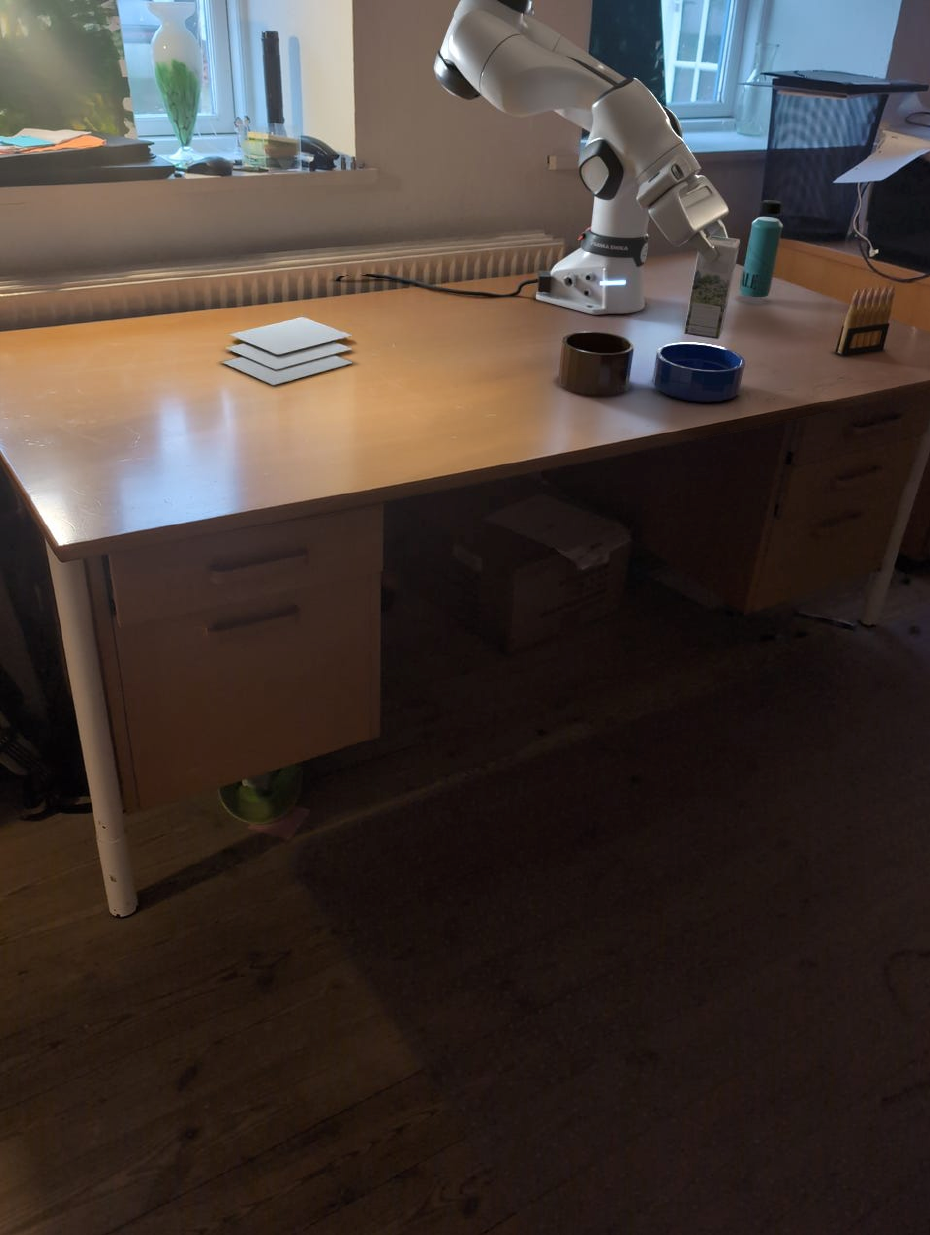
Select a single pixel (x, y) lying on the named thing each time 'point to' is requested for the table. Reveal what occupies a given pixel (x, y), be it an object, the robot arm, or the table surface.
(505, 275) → the table surface
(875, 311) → the ammunition clip
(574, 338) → the cup
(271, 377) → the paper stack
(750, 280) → the beverage bottle
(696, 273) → the syrup box
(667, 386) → the bowl
